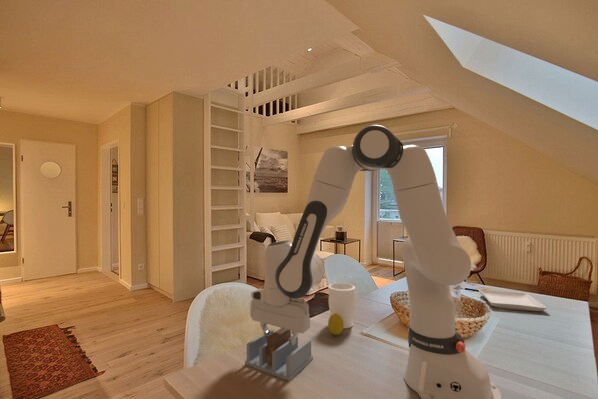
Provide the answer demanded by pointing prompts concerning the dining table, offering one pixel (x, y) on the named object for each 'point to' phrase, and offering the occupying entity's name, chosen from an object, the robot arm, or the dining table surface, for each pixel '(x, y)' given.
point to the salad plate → (512, 300)
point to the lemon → (335, 324)
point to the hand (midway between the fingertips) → (279, 340)
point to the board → (276, 342)
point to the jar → (342, 302)
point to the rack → (279, 357)
